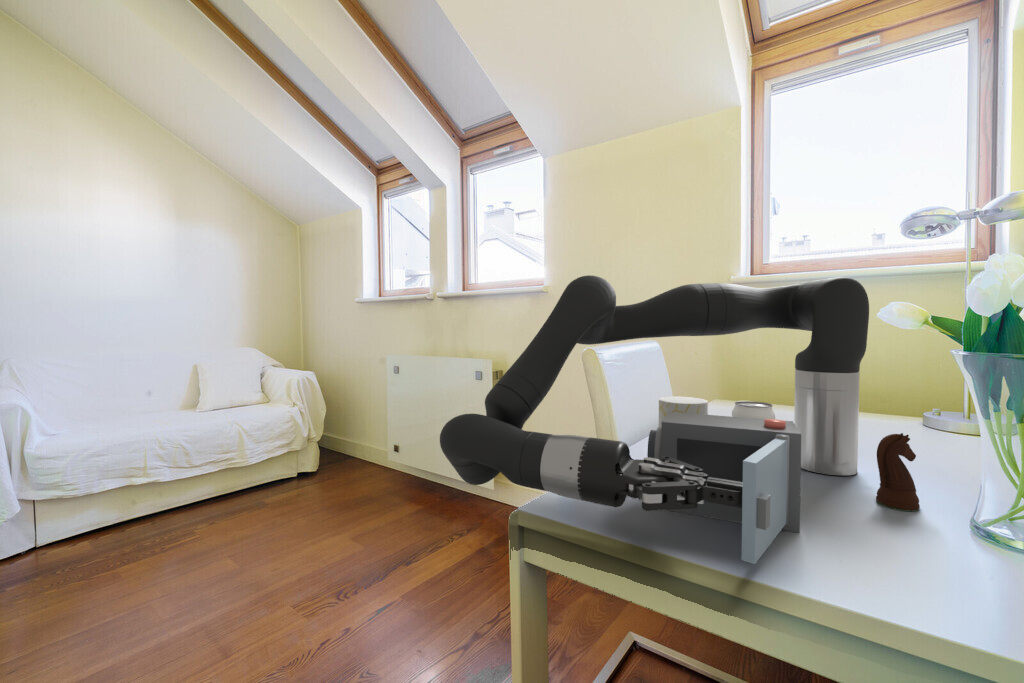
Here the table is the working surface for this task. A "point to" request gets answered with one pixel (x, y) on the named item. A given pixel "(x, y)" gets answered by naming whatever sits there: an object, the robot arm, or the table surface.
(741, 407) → the can
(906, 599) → the table surface
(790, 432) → the grey box
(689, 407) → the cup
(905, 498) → the chess piece
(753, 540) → the side door
